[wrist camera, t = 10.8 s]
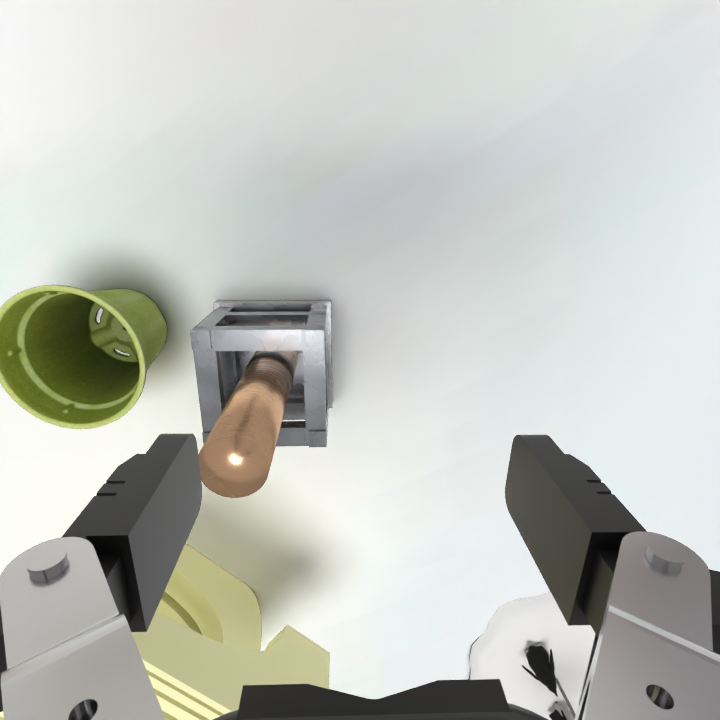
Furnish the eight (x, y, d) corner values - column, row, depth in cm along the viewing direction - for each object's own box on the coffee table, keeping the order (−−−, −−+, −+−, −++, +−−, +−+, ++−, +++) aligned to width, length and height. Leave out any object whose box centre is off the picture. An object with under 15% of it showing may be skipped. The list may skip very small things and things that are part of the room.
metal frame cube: (216, 300, 36) (184, 326, 29) (330, 300, 37) (328, 325, 29) (227, 404, 39) (200, 452, 32) (332, 402, 39) (330, 450, 32)
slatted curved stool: (146, 714, 51) (51, 966, 34) (17, 644, 47) (-163, 891, 30) (331, 555, 45) (327, 766, 28) (202, 457, 41) (105, 637, 24)
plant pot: (58, 358, 37) (-22, 403, 29) (78, 248, 34) (-4, 262, 26) (172, 394, 39) (127, 446, 30) (200, 291, 36) (159, 317, 28)
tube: (253, 337, 36) (191, 435, 21) (297, 336, 36) (267, 434, 21) (256, 378, 37) (199, 499, 22) (299, 377, 38) (272, 497, 22)
